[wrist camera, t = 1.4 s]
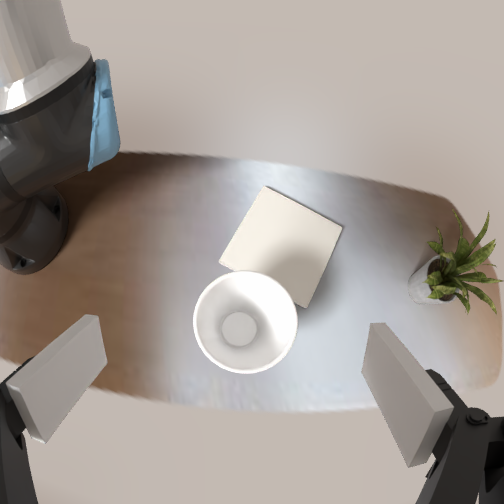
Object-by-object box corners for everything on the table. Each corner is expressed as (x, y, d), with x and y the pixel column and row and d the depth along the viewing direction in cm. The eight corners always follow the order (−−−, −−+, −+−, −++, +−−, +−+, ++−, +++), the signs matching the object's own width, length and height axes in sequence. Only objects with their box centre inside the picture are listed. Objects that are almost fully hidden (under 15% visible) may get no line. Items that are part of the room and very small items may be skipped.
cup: (213, 282, 40) (211, 257, 30) (285, 303, 40) (309, 286, 30) (190, 354, 37) (179, 355, 27) (265, 376, 37) (282, 385, 27)
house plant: (394, 224, 46) (453, 173, 31) (454, 258, 46) (518, 223, 30) (373, 305, 41) (444, 278, 26) (440, 335, 41) (515, 320, 25)
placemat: (219, 262, 41) (219, 260, 40) (262, 189, 45) (263, 185, 44) (305, 308, 40) (307, 307, 39) (340, 230, 45) (342, 227, 44)
